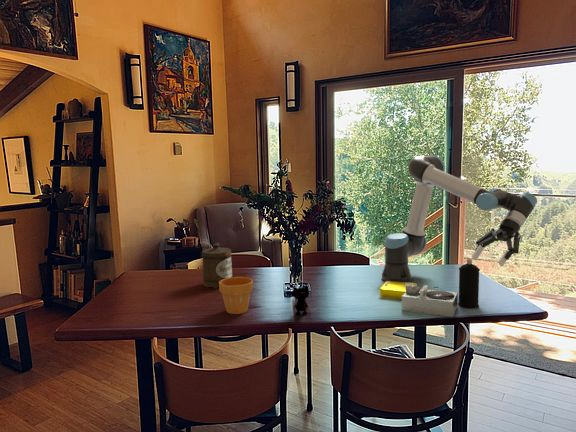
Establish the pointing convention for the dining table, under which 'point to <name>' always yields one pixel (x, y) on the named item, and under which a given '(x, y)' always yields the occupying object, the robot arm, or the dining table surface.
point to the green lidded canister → (216, 265)
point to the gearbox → (429, 301)
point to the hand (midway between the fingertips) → (486, 261)
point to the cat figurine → (301, 300)
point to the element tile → (394, 289)
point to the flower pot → (236, 293)
